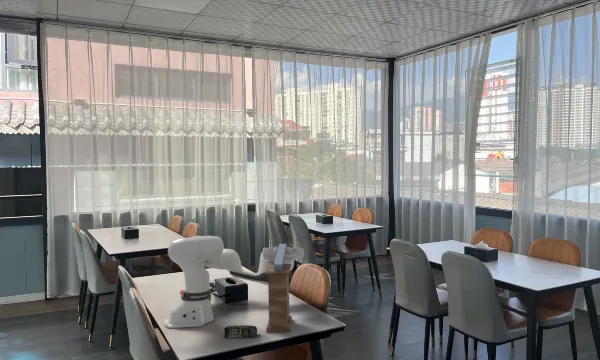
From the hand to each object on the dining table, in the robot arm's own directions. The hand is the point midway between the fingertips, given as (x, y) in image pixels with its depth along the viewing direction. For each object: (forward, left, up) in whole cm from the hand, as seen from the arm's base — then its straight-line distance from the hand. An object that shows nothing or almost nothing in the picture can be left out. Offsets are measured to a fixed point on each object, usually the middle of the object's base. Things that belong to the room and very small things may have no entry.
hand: (282, 247), depth 219 cm
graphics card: (-27, +50, -33) cm, 65 cm away
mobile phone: (-24, -23, -32) cm, 46 cm away
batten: (-3, -8, -4) cm, 10 cm away
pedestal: (-6, -16, -32) cm, 36 cm away
